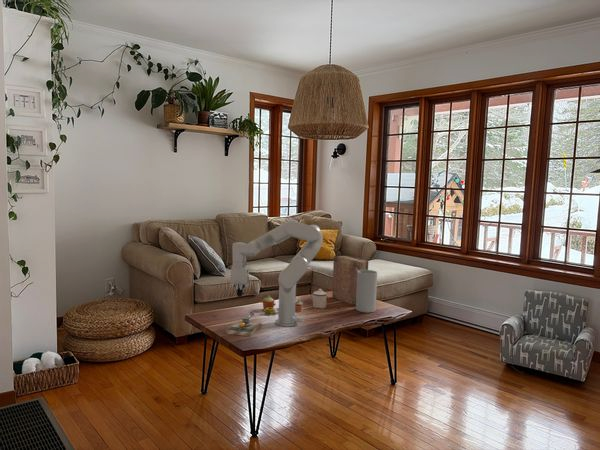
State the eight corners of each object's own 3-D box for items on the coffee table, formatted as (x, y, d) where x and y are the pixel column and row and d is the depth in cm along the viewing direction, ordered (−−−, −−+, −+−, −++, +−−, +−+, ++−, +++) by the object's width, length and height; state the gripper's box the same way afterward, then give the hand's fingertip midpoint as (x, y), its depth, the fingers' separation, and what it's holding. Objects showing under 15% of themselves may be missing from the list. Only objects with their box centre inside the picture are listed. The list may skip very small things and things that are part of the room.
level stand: (261, 325, 257) (261, 322, 257) (250, 336, 240) (250, 332, 240) (237, 323, 260) (237, 320, 260) (225, 333, 243) (225, 329, 243)
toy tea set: (265, 316, 276) (265, 300, 275) (257, 309, 290) (257, 294, 289) (305, 313, 286) (306, 297, 286) (295, 306, 301) (296, 291, 300)
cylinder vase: (366, 314, 287) (368, 274, 285) (351, 309, 296) (353, 271, 294) (379, 310, 295) (381, 272, 293) (364, 306, 305) (366, 269, 302)
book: (366, 304, 310) (368, 260, 307) (356, 306, 304) (358, 261, 301) (342, 296, 330) (343, 254, 327) (332, 297, 325) (333, 255, 322)
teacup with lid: (329, 306, 301) (329, 289, 300) (320, 309, 294) (321, 291, 293) (314, 303, 309) (315, 286, 308) (306, 305, 302) (306, 288, 301)
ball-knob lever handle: (246, 330, 243) (246, 322, 243) (235, 329, 244) (235, 321, 243) (257, 317, 266) (257, 310, 265) (247, 316, 267) (247, 309, 266)
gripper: (254, 263, 263) (254, 295, 265) (229, 262, 266) (229, 293, 268) (249, 265, 256) (250, 298, 257) (224, 264, 259) (225, 297, 261)
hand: (239, 296), depth 263 cm, fingers closed
